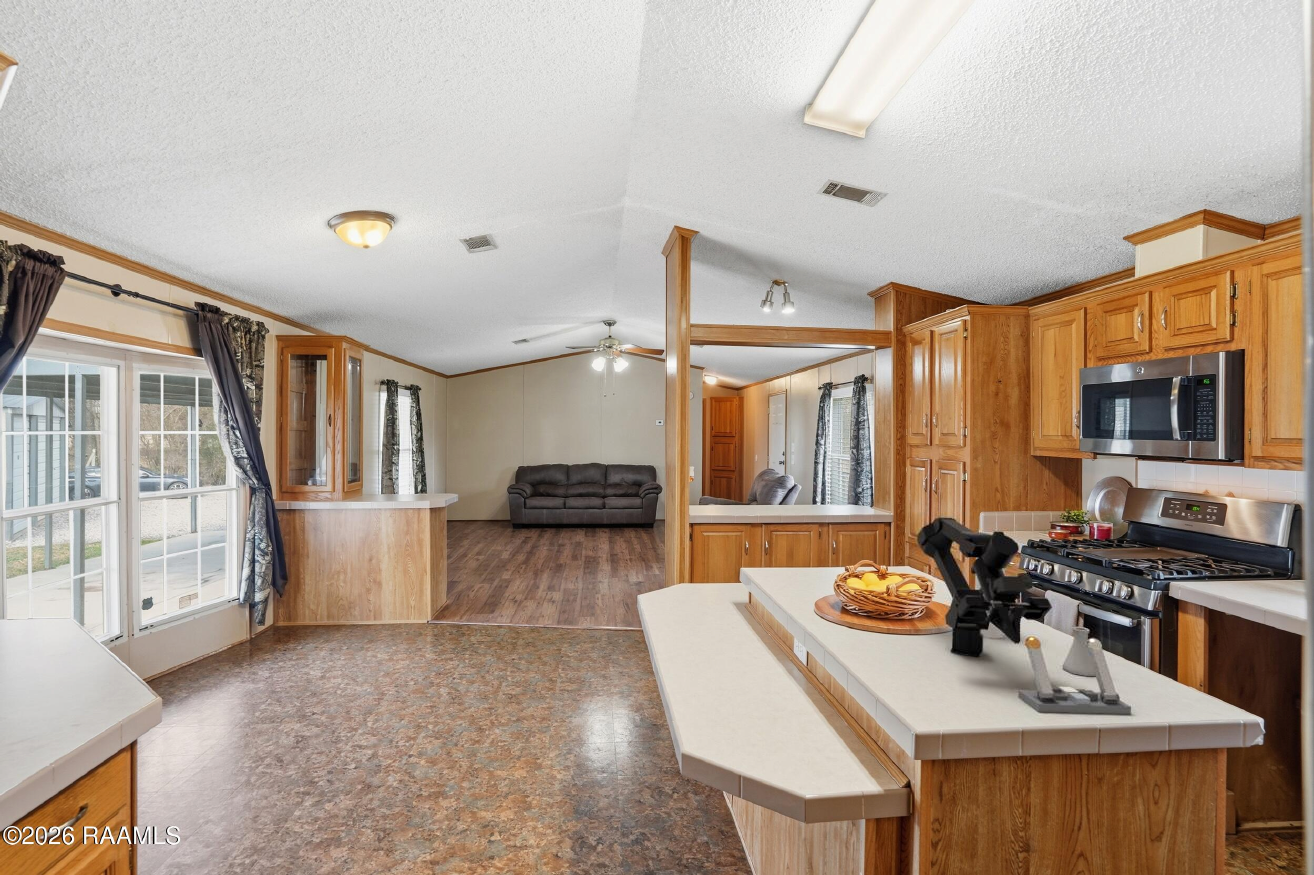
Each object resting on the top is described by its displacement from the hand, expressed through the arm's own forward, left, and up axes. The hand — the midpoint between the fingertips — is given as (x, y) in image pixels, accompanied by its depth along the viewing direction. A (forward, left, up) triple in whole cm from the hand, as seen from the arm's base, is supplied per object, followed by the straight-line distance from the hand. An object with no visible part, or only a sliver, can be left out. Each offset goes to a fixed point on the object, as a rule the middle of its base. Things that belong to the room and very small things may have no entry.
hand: (1017, 642), depth 138 cm
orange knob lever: (+5, -9, -7) cm, 13 cm away
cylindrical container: (-7, +40, -10) cm, 42 cm away
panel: (+10, -5, -10) cm, 15 cm away
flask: (+12, +20, -10) cm, 25 cm away
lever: (+16, -3, -7) cm, 18 cm away
